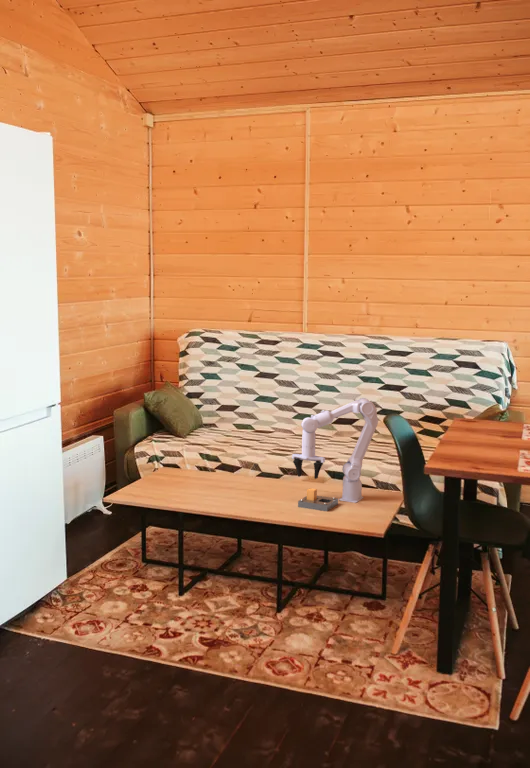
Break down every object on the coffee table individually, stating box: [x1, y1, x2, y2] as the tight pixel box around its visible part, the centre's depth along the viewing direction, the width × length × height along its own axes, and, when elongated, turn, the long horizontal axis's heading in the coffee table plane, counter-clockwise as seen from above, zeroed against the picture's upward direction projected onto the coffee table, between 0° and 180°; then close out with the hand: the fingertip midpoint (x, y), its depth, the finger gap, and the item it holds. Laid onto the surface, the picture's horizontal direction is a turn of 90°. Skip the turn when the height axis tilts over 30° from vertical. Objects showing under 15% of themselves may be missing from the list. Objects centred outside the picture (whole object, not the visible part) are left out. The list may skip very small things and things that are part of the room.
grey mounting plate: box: [297, 495, 339, 512], centre depth 323 cm, size 12×13×3 cm
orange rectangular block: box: [306, 487, 318, 501], centre depth 324 cm, size 3×3×6 cm
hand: (307, 477), depth 331 cm, fingers open, 7 cm apart
